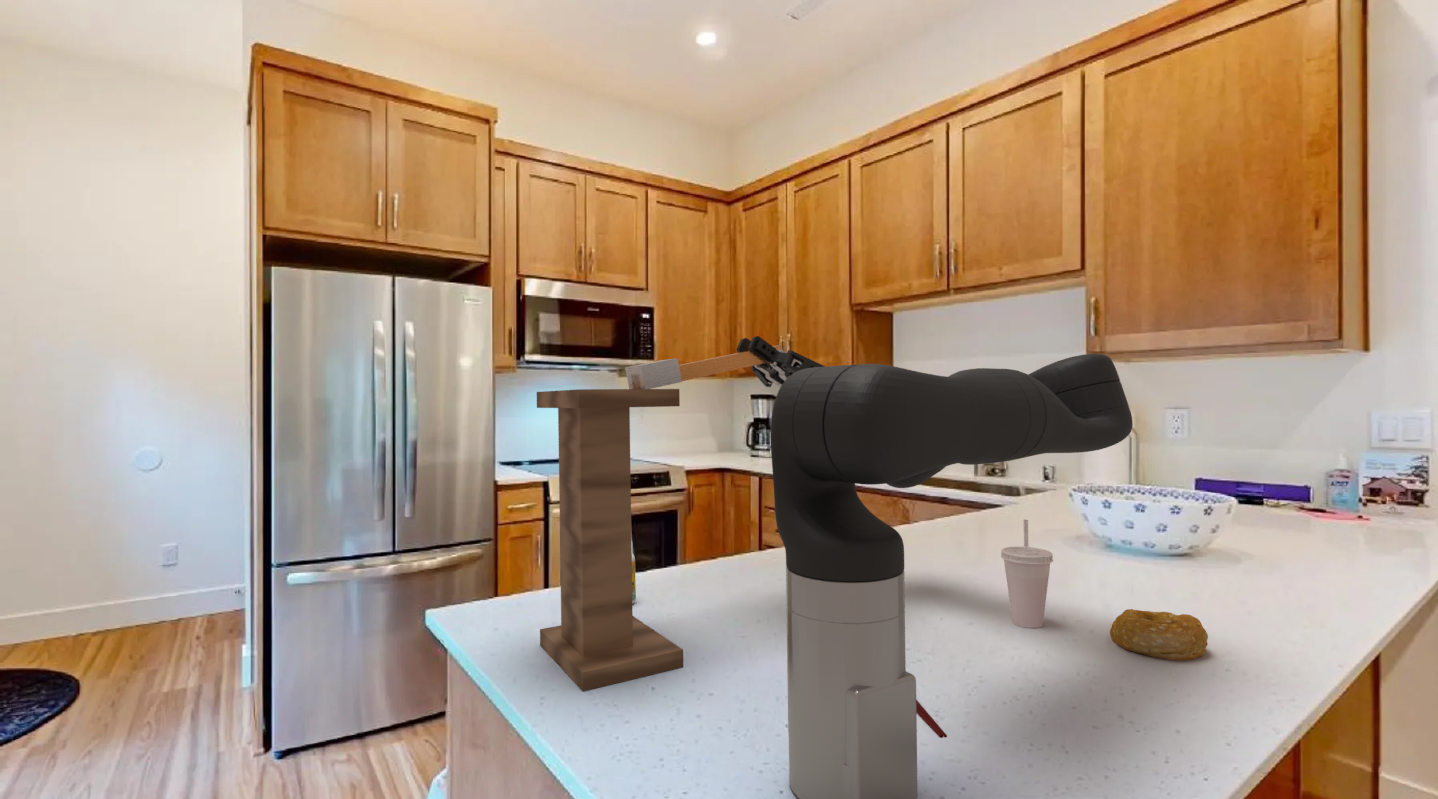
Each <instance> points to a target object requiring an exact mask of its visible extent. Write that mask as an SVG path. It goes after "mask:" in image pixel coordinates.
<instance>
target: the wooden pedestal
mask: <svg viewBox="0 0 1438 799" xmlns="http://www.w3.org/2000/svg"><path fill="white" fill-rule="evenodd" d="M680 401H681V400H680V388H652V389H629V388H624V389H623V388H621V389H620V388H618V389H617V388H616V389H615V388H614V389H612V388H610V389H605V388H602V389H598V388H596V389H593V388H592V389H586V388H585V389H581V388H580V389H578V388H577V389H565V390H563V389H562V390H548V391H547V390H545V391H536V408H538V409H557V410H558V411H557V415H558V416H557V417H558V418H557V419H558V420H557V424H558V429H557V430H558V484H559V486H558V488H559V493H558V494H559V498H558V499H559V552H560V553H559V556H560V557H559V561H560V562H559V563H560V566H559V567H560V568H559V569H560V620H561V622H560V625H556V626H551V627H544V628H540V629H539V642H540V643H539V646H540V647H541V648H543V650H544V651H545V652H546V653H547V654H548V655H549V656H550V658H551V659H553V661H554V662H555V663H556V664H557V665H558V666H559V668H560V669H562V670H563V672H564V673H565V674H566V675H567V676H568V677H569V678H570V679H571V680H572V681H573V682H574V683H575V685H576V686H577V687H578V688H579V689H580V690H581V691H582V692H586V691H590V690H593V689H599V688H602V687H607V686H610V685H615V684H618V683H623V682H627V681H632V680H636V679H638V678H643V677H646V676H647V677H648V676H651V675H656V674H659V673H660V674H661V673H664V672H668V671H672V670H676V669H681V668H684V649H683V648H682V647H680V646H679V645H677V644H676V643H674V642H672V641H671V640H669V639H668V638H667V637H665V636H664V635H662V634H660V633H659V632H657V631H656V630H655V629H653V628H652V627H650V626H649V625H647V624H645V623H644V622H643V621H641V620H640V619H638V618H637V617H636V616H634V615H633V604H632V554H633V552H632V549H633V547H632V492H631V490H632V489H631V488H632V487H631V485H632V483H631V482H632V481H631V480H632V478H631V428H630V427H631V425H630V424H631V422H630V421H631V420H630V419H631V417H630V416H631V415H630V414H631V413H630V412H631V411H630V408H661V407H663V408H664V407H669V408H670V407H680Z"/></svg>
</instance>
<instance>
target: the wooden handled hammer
mask: <svg viewBox="0 0 1438 799" xmlns="http://www.w3.org/2000/svg"><path fill="white" fill-rule="evenodd" d="M772 346H773V347H774V348H776V350H777V349H782V350H783V347H782V346H783V345H782V344H779V345H778V344H777V345H772ZM763 363H767V362H765V361H764V360H762V359H761V358H759V357H758V356H757V355H755V354H754V353H752V352H751V351H745V352H740V353H738V352H737V353H732V354H727V355H726V354H725V355H722V356H717V357H711V358H707V359H701V360H698V361H697V360H696V361H693V362H687V363H682V364H679V358H678V357H677V358H670V359H661V360H656V361H651V362H645V363H640V364H636V365H631V366H626V367H624V369H625V374H626V379H627V384H628V389H657V388H660V387H666V386H669V385H674V384H679V383H682V382H684V381H689V380H693V379H698V378H704V377H706V376H707V377H708V376H712V375H718V374H721V373H726V372H730V371H735V370H739V369H743V368H744V369H745V368H749V367H750V368H751V367H752V366H754V365H759V364H763Z"/></svg>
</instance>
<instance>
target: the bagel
mask: <svg viewBox="0 0 1438 799" xmlns="http://www.w3.org/2000/svg"><path fill="white" fill-rule="evenodd" d="M1109 632H1110V637H1111V640H1112V642H1113V643H1115V644H1116V645H1117V646H1119V647H1121V648H1123V649H1124V650H1127V651H1129V652H1134V653H1138V654H1141V655H1146V656H1148V657H1153V658H1159V659H1164V660H1169V661H1187V660H1195V659H1198V658H1201V657H1202V656H1204V655H1205V653H1206V648H1207V646H1208V645H1209V644H1208V640H1209V636H1208V633H1207V631H1206V629H1205V628H1204V626H1203V624H1202V622H1201V621H1200V619H1198V618H1197V617H1195V616H1193V615H1191V614H1186V613H1185V614H1184V613H1182V614H1175V613H1172V612H1169V611H1150V610H1138V609H1132V608H1131V609H1130V608H1129V609H1125V610H1124V611H1122V613H1121V614H1120V615H1117V617H1116V618H1115V620H1114V621H1113V622H1112V623H1111V627H1110V630H1109Z"/></svg>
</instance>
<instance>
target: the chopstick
mask: <svg viewBox="0 0 1438 799" xmlns="http://www.w3.org/2000/svg"><path fill="white" fill-rule="evenodd" d="M916 715H918V717H919V718H920V719H921V720H922V721H923V722H924V723H925V724H926V725H927V726H928V727H929V728H930V729H931V730H932V731H933V732H934V733H935V734H936V735H937V737H939V738H947V737H948V735H947V734H946V732H945V731H944V730H943V729H942V728H941V727H940V725H939V724H938V723H937V721H935V720H934V718H933V717H932V716H931V715H930V713H929V712H928V711H927V710H926V709H925V708H924V707H923V705H922V704H921V703H920V702H919V701H918V700H917V699H916Z"/></svg>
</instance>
